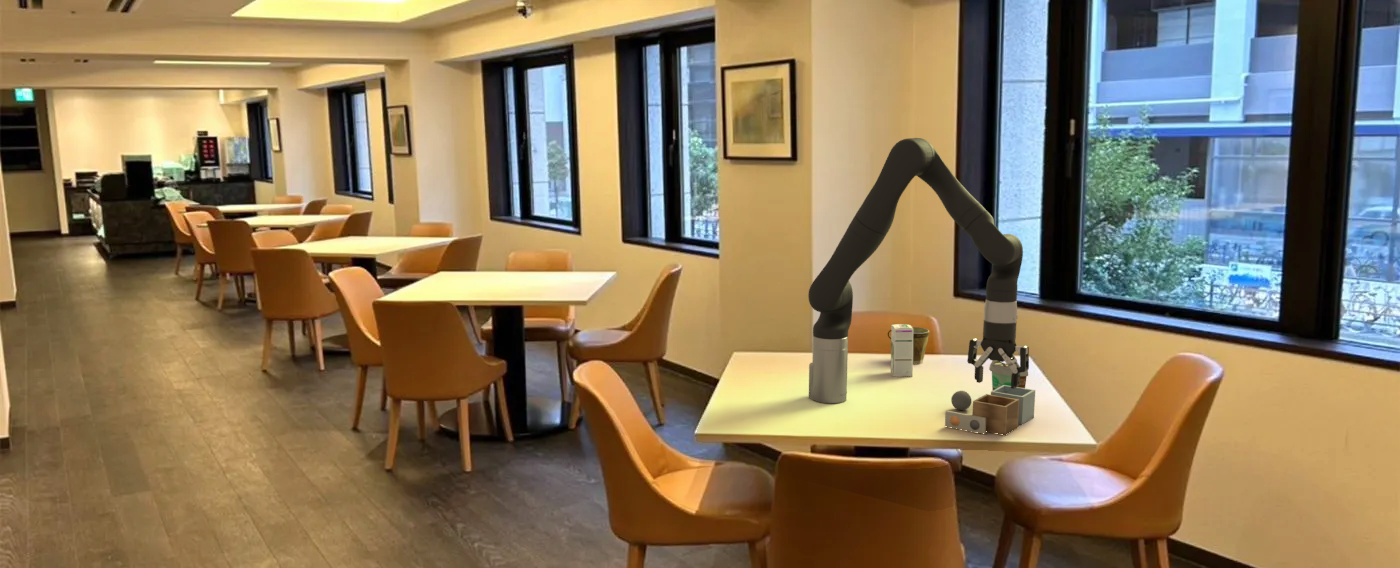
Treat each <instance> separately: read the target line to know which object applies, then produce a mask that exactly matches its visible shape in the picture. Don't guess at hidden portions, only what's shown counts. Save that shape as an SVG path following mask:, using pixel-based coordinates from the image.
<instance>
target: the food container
mask: <svg viewBox="0 0 1400 568" xmlns="http://www.w3.org/2000/svg"><path fill="white" fill-rule="evenodd" d="M988 368H989V369H988V370H989V371H990V372H991V385H992V386H991V387H992V390H991V391H993V390H995V389H997V388H999V387H1001V386H1002V385H1007V386H1011V376H1012V373H1013V372H1012V370H1011V368H1010V367H1009V366H1008V365H1007V364H1006V362H1000V361H997V360H991V362H990V364H989V367H988ZM1027 377H1029V369H1028V370H1027V371H1025V372H1021V373H1020V384H1019V386H1017V387H1019V388H1026V383H1027Z"/></svg>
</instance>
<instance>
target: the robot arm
mask: <svg viewBox="0 0 1400 568" xmlns="http://www.w3.org/2000/svg"><path fill="white" fill-rule="evenodd" d="M915 177H918V178H919V179H921V181H923V182H924V183H925V184H926V185H928V187H930V188H931V189H932V190H933V191H934V193H935V194H936V195H937V197H938V198H939V200H940V202H941V203H942V204H943V206H944V207H943V208H945V210H946V212H947V213H948V215H949V216H950V217H951V218H952V220H953V221H954V222H955V223H956V224H957V225H958V227H960V228H961V230H962V231H963V232H965V233H966V234H967V235H968V236H969V237H970V238H971V240H972V242H973V243H974V245H975V246H976V248H977V249H978V251H979V253H980V254H981V255H982V256H983V258H985V260H987V261H988V262H989V263H990V264H992V268H991V273H990V275H989V276H988V279H987V281H986V289H985V290H986V291H985V292H986V293H985V302H984V303H985V304H984V308H983V323H982V325H983V329H982V340H979V339H978V338H976V337H975V338H973V339H970V340H969V343H968V352H967V360H966V361H967V364H971V365H973V366H974V380H976V383H979V384H980V383H983V380H984V366H983V365H984V364H985V363H986V362H987V361H988V360H990V361H992V360H997V361H1000V362H1002V363H1005V364H1007V365H1008V366H1009V367H1010V368H1011V370H1012V372H1013V373H1012V376H1011V388H1012V389H1015V388H1016V387H1017V386H1019V384H1020V373H1021V372H1025V371H1027V370H1028V371H1029V370H1030V369H1029V368H1030V347H1029V346H1028V345H1023V346H1022V345H1017V343H1016V339H1017V337H1016V336H1017V322H1018V321H1017V320H1018V304H1017V302H1018V301H1017V300H1018V279H1019V277H1020V272H1021V266H1022V263H1023V257H1024V256H1023V255H1024V248H1023V247H1024V246H1023V243H1022V241H1021V240H1020V238H1019V237H1017V236H1016V235H1014V234H1011V233H1005V234H1003V233H1002V232H1001V231H1000V230H999V228H998V227H997V226H996V224H995V219H994V217H993V216H992V215H991V213H990V212H989V211H988V210H986V208H985V207H984V206H983V205H982V204H981V203H980V201H978V200H977V199H976V198H975V197H974V196H973V195H972V194H971V193H970V192H969V191H968V190H967V189H966V187H964V185H962V183H961V182H960V181H959V180H958V179H957V177H956V176H955V175H954V174H953V172H952V171H951V170H950V169H949V167H948V166H947V164H946V163H945V162H944V160H943V159H942V158H941V156H940V154H939V153H938V152H937V150H936V149H935V147H934V146H933V145H932V144H931V143H930V141H928V140H926V139H924V138H921V137H912V138H903V139H901V140H899V141H898V142H896V143H895V144H894V145H893V146H892V147H891V149H890V150H889V152H888V155H887V157H886V160H885V162H884V163H883V166H882V168H881V171H880V172H879V175H878V177H877V179H876V181H875V183H874V184H873V186H872V188H871V189H870V191H869V193H868V194H867V196H866V197H865V199H864V200H863V202H862V204H861V205H860V207H859V208H858V210H857V211H856V213H855V215H854V217H853V218H852V220H851V221H850V223H849V225H848V227H847V229H846V231H845V232H844V234H843V235H842V238H841V239H840V241H839V242H838V245H837V246H836V248H835V249H834V251H833V254H832V255H831V257H830V258H829V260H828V261H827V263H826V264H825V266H824V267H823V268H822V270H821V271H820V272H819V273H818V275H817V276H816V277H815V279H814V280H813V281H812V283H811V284H810V286H809V289H808V295H807V297H808V303H809V305H810V306H811V308H812V309H814V311H816V312H819V316H818V319H817V320H816V322H815V323H814V324H813V326H812V362H809V365H808V399H811V400H813V401H815V402H817V403H823V404H837V403H839V404H840V403H843V402H845V401H847V397H848V395H847V394H848V360H849V358H848V355H849V353H848V349H849V329H850V327H851V324H852V317H853V302H854V301H853V299H854V293H853V288H852V284H851V282H850V279H851V278H852V276H853V275H854V273H855V272H856V271H858V269H860V267H861V266H862V265H864V264H865V262H866V261H868V260H869V258H870V257H871V256H872V255H873V254H874V253H875V252H876V251H877V249H878V248H879V247H880V246H881V244H882V242H883V241H884V239H885V237H886V236H887V234H888V232H889V231H890V229H891V227H892V224H893V223H894V220H895V219H894V218H895V215H896V211H897V207H898V203H899V201H900V198H901V197H902V195H903V194H904V191H905V190H906V189H907V187H908V186H909V185H910V183H911V182H912V180H913V179H914V178H915ZM980 347H981V348H982V350H983V353H982V354H981V355H980V356H979V357H978V359H977V355H978V349H979V348H980ZM1015 352H1017V354H1018V355H1019V363H1020V364H1019V363H1018V359H1017V358H1016V356H1015V355H1014V354H1015Z"/></svg>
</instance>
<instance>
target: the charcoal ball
mask: <svg viewBox="0 0 1400 568" xmlns="http://www.w3.org/2000/svg"><path fill="white" fill-rule="evenodd" d="M951 404H952V407H954V408H955V410H958V411H966V410H968V409H969V408H970V407H971V406H972V396H971V395H970V393H968V392H967V391H965V390H957V391H955V392H954V393H953V394H952V396H951Z"/></svg>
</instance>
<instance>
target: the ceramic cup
mask: <svg viewBox="0 0 1400 568" xmlns="http://www.w3.org/2000/svg"><path fill="white" fill-rule="evenodd" d="M911 327H912V328H913V365H920V364H922V363H923V362H924V358H925V353H926V349H927V344H928V340H929V335H930V330H929V329H927V328H924V327H917V326H911ZM890 333H891V329H890V330H888V332H887V337H888V338H889V339H890V340H891V335H890Z"/></svg>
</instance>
